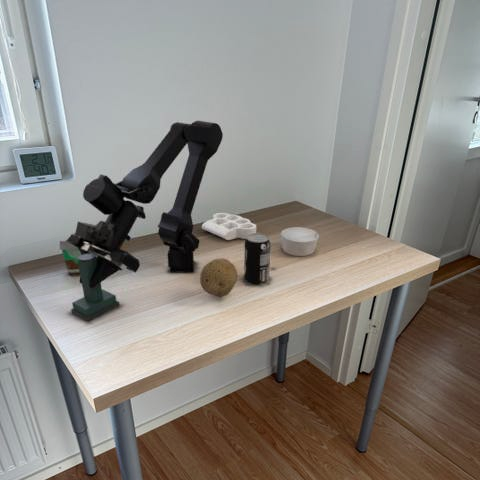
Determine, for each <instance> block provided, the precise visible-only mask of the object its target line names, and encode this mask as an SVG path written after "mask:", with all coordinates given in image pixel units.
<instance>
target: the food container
mask: <svg viewBox="0 0 480 480" xmlns="http://www.w3.org/2000/svg"><path fill="white" fill-rule="evenodd" d="M69 238H70V236H69V237H68V238H67V239H66V240H60V241H59V250H61V253H62V255H63V259H64V260H63V261H64V263H65V267H66V271H67V274H68V275H69V276H80V272H79V266H78V261H77V260H78V259H79V256H81V252H80V251H79V250H78V248H77V247H76V246H74V245H72V244H71V243H69V242H68V240H69Z"/></svg>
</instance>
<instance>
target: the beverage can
mask: <svg viewBox="0 0 480 480" xmlns="http://www.w3.org/2000/svg"><path fill="white" fill-rule="evenodd" d="M246 238H247V239H245V241H244V255H243V256H244V259H243V260H244V261H243V262H244V264H243V279H244V280H245V281H246V282H247V283H249V284H251V285H255V286H256V285H263V284H265V283H267V282H268V281H269V279H270V270H271V269H270V268H271V267H270V266H271V265H270V264H271V245H272V243H271V241H270V236H269V235H268V234H266V233H261V232H256V233H252V234H249V235H247V237H246Z"/></svg>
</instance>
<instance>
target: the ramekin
mask: <svg viewBox="0 0 480 480" xmlns="http://www.w3.org/2000/svg"><path fill="white" fill-rule="evenodd" d="M280 238H281V246H282V250H283V251H284V253H285V254H287V255H290V256H293V257H307V256H310V255H312V254H313V253H314V252H315V250H316V248H317V243H318V241H319V238H320V235H319V233H318V232H317V231H315V230H313V229H311V228H307V227H301V226H300V227H297V226H295V227H287V228H285V229H282V231H281V232H280Z"/></svg>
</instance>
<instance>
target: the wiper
mask: <svg viewBox="0 0 480 480" xmlns="http://www.w3.org/2000/svg"><path fill="white" fill-rule="evenodd" d="M77 261H78V266H79V272H80V275H79V278H80V277H81V282H82V283H81V287H82V292H83V297H81V298H79V299H77V300H74V301H73V302H71V305H72V308H71V309H70V310H71V313H72V314H74V315H75V316H77V317H79V318H81V319H83V320H85V321H87V322H90V321H92V320H93V319H96V318H99V317H101V316H102V315H103V314H105V313H108V312H110V311H111V310H113V309H115V308H117V307H119V306H120V302H119V301H118V300H117V295H116V294H114V293H111V292H109V291H107V290H105V289H103V288H102V282H101V283H99V284H98V285H96V286H95V287H94V288H90V287H89V283H90V280H91V278H92V276H93V274H94V272H95V270H96V268H97V266H98V264H97V259H96V258H95V256H94V255H93V254H83V255H81V256H79V259H78V260H77Z"/></svg>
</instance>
